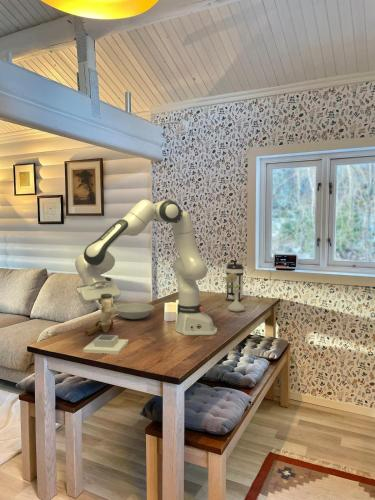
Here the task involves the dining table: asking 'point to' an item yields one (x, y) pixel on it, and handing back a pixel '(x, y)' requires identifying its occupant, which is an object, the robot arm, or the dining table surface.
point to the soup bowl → (134, 310)
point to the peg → (106, 309)
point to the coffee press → (238, 271)
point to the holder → (106, 345)
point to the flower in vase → (235, 305)
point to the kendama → (98, 326)
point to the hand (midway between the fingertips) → (107, 308)
